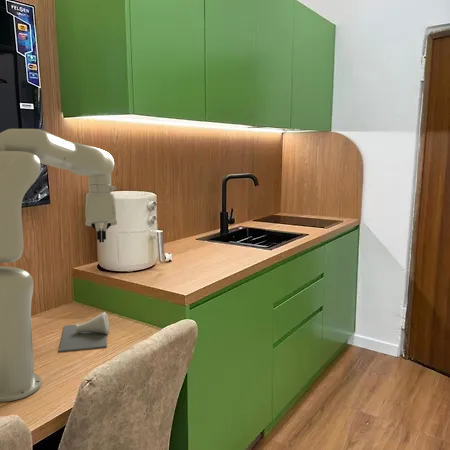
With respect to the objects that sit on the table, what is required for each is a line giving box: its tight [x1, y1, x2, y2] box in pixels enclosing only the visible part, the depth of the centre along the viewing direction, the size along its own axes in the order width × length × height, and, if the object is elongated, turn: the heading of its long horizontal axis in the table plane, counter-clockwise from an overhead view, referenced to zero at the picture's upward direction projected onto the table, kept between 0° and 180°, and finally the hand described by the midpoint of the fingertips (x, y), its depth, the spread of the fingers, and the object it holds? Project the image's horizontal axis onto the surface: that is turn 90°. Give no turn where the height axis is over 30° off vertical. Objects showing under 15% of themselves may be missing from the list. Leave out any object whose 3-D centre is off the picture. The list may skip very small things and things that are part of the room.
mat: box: [58, 324, 108, 353], centre depth 141 cm, size 14×20×1 cm
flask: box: [75, 311, 110, 335], centre depth 142 cm, size 7×7×10 cm
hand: (101, 241), depth 150 cm, fingers closed
